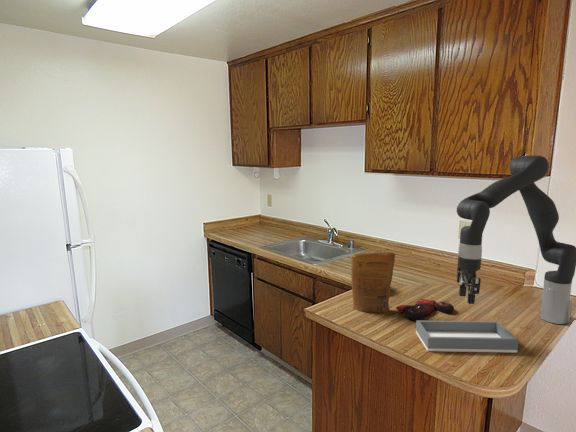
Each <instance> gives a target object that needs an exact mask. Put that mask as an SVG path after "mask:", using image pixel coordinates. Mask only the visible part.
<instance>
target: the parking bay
mask: <svg viewBox="0 0 576 432" xmlns="http://www.w3.org/2000/svg"><path fill="white" fill-rule="evenodd" d="M415 322H416V324H415V334H416V335H417V337H418V338H419V340H420V342H421V343H422V344H423V346H424V348H425V349H426V351H427V352H451V353H452V352H453V353H454V352H459V353H461V352H462V353H463V352H465V353H510V354H511V353H516V354H517V353H518V350H519V347H518V346H519V339H518V338H517V336H516V335H514V334H513V333H512V332H511V331H510V330H509V329H507V328H506V327H505V326H504V325H503V324H501V323H500V322H499V321H495V320H494V321H490V320H489V321H488V320H486V321H484V320H482V321H480V320H479V321H477V320H471V321H470V320H415Z"/></svg>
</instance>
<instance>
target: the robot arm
mask: <svg viewBox="0 0 576 432" xmlns="http://www.w3.org/2000/svg"><path fill="white" fill-rule="evenodd" d="M549 165H550V164H549V162H548V159H547V158H546V157H544V156H542V155H520V156H514V158H512V159H511V161H510V163H509V172H510V176H506V177H504V178H501V179H499V180H497V181H495V182H493V183H491V184H489V185H488V186H487V187H484V189H483V190H482V191H480V192H477V193H474V194H472V195H470V196H468V197H465V198H464V199H462V200H461V201H460V202H459V203H458V205H457V207H456V213H457V215H458V217H459V218H461V219H463V220H469V221H471V223H470V225H465V226H462V227H461V228H460V232H459V233H460V234H459V243H458V244H459V245H458V251H457V252H458V253H457V268H456V269H457V270H456V283H458V286H459V289H458V290H459V292H458V296H460V297H466V295H467V303H468V304H469V305H474V304H475V302H476V295H479V294H480V289H481V281H482V279H481V278H480V277H477V272H478V271H480V270H481V268H482V258H483V257H482V255H483V254H482V253H483V247H482V245H483V234H484V233H483V232H484V230H485V228H486V225H487V222H488V220H489V217H490V214H491V213H490V212H491V210H490V209H492V208H495V207H496V206H498V205H499V204H501V203H502V202H503V201H505V200H506V199H508V197H510V196H511V195H513V194H515V193H516V192H518V191H519V193H520V196H521V197H522V199H523V202H524V205H525V207H526V211H527V212H528V213H527V214H528V217H529V218H530V221H531V223H532V225H533V228H534V231H535V234H536V237H537V240H538V245H539V249H540V253H541V257H542V258H543V260H544V261H545V262H547V263H550V264H554V265H556V266H558V267H557V270H548V271H546V272H545V273H544V276H543V277H544V278H543V288H542V298H541V299H542V300H541V307H540V316H539V317H540V318H541V320H543V321H545V322H548V323H551V324H557V325H565V324H567V323H570V322H571V317H572V306H573V300H572V299H571V295H572V294H571V293H572V284H573V278H574V277H575V273H576V246H575V245H573V244H568V243H564V242H560V241H557V240H556V239H555V236H554V230H555V229H556V226H557V224H558V223H559V219H560V214H559V211H558V209H557V206H556V204H555V202H554V200H553V199H552V198H551V197H550V196H549V195H548V194H546V193H545V192H544V191H543V190H542V189H541V188H539V186H537V184H536V182H537V181H539V180H542V179H543V178H544V177H545V176H546V175H547V173H548V172H549V167H550V166H549ZM467 292H468V293H467Z"/></svg>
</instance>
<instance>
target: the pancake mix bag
mask: <svg viewBox="0 0 576 432" xmlns="http://www.w3.org/2000/svg"><path fill="white" fill-rule="evenodd" d="M395 261H396V253H395V252H389V251H388V252H371V253H370V252H369V253H354V255H351V260H350V264H351V266H350V278H351V281H350V282H351V291H352V302H353V305H352V306H353V307H352V310H355V311H358V312H361V313H370V314H371V313H375V314H377V313H378V314H386V313H387V312H390V304H389V302H390V296H391V285H392V282H393V281H392V280H393V275H394V267H395Z"/></svg>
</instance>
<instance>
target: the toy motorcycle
mask: <svg viewBox="0 0 576 432" xmlns="http://www.w3.org/2000/svg"><path fill="white" fill-rule="evenodd" d="M395 309H396V310H397V311H398V312H400V313H401V312H403V311H404V315H405V317H406V318H407V319H409V320H411V321H416V320H419V321H423V320H425V316H427V315H430V314H431V313H432V312H433V311H434V310H437V311H439V312H441V313H447V314H449V313H450V314H451V313H453V312H454V311H455V307H454V305H452V304H451V303H450V302H446V301H436V300H433V299H425V298H419V300H417V301H416V302H415V304H399V305H397V306H395Z"/></svg>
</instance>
